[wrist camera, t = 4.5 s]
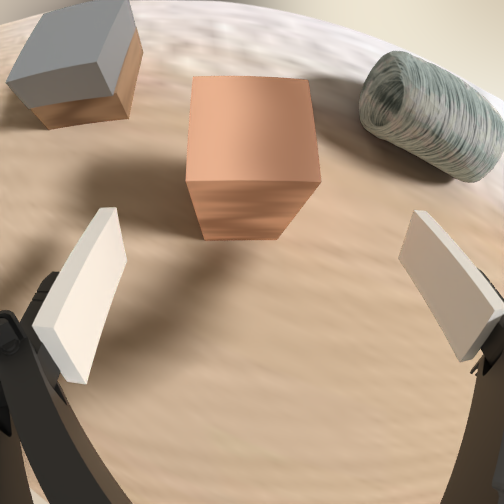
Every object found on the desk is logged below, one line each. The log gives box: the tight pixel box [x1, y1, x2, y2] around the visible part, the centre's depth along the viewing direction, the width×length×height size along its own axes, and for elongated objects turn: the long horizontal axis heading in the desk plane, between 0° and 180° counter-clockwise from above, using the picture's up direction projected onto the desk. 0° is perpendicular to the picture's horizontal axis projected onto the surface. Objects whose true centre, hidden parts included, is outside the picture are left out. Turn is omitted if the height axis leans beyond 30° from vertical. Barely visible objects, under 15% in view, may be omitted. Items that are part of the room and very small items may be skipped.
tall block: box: [186, 76, 321, 241], centre depth 17 cm, size 5×5×11 cm
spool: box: [359, 51, 504, 183], centre depth 21 cm, size 14×10×10 cm
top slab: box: [6, 0, 136, 109], centre depth 18 cm, size 8×8×4 cm
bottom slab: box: [30, 27, 143, 130], centre depth 22 cm, size 8×8×4 cm
